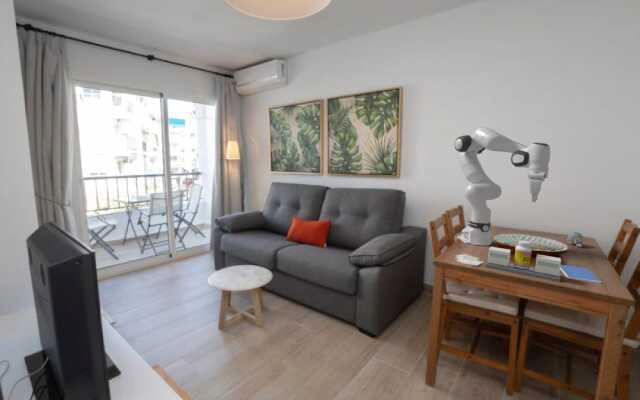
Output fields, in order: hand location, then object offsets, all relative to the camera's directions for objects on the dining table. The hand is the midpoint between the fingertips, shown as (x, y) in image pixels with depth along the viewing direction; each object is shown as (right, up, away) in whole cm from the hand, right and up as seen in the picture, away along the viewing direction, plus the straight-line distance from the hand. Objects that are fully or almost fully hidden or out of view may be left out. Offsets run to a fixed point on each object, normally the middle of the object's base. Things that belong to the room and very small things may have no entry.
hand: (534, 200), depth 159 cm
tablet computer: (+13, -36, -11) cm, 40 cm away
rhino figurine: (+51, -29, +35) cm, 68 cm away
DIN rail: (-13, -33, -9) cm, 37 cm away
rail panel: (-13, -35, -9) cm, 38 cm away
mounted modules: (-13, -33, -9) cm, 36 cm away
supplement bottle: (-13, -33, -9) cm, 36 cm away
